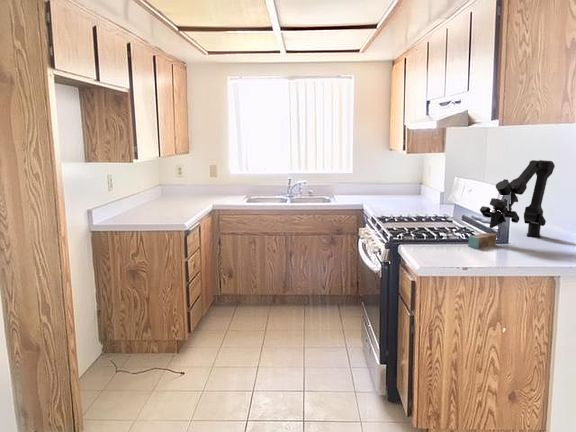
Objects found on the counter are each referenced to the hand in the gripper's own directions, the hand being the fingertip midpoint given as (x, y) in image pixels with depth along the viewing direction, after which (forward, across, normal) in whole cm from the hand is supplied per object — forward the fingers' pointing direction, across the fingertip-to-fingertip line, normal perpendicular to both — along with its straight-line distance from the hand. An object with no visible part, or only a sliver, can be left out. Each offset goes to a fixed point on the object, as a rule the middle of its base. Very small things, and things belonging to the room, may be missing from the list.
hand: (490, 227), depth 240 cm
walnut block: (+3, 0, +5) cm, 6 cm away
